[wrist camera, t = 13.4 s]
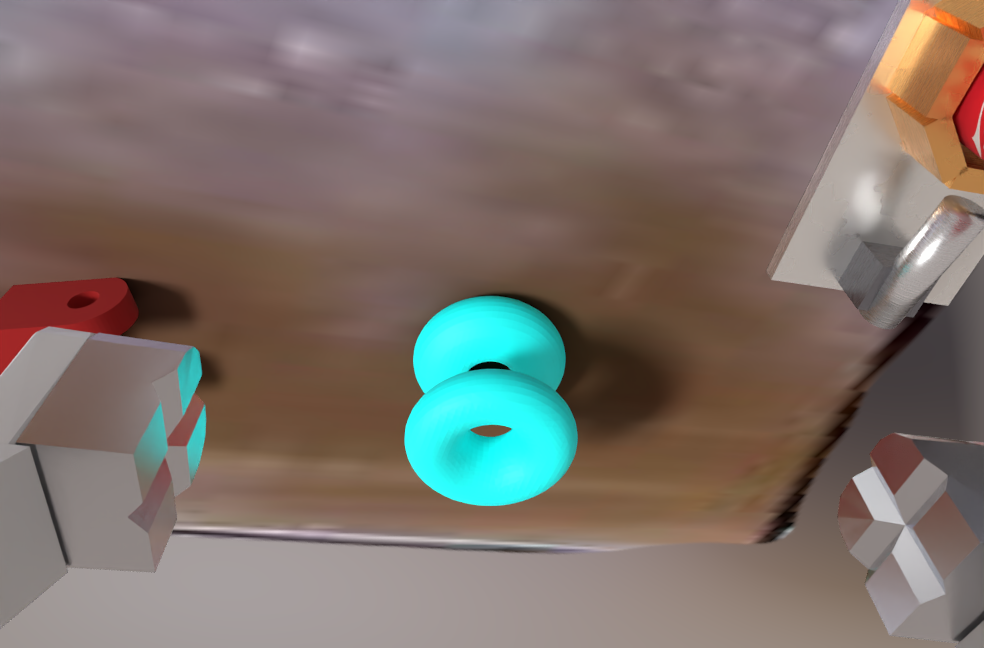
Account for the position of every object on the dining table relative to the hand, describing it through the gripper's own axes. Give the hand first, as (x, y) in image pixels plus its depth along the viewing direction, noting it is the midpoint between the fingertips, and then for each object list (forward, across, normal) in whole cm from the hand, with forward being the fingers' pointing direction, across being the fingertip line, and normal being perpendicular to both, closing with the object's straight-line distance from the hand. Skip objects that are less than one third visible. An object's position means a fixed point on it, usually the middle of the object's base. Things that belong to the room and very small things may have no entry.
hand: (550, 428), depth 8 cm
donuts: (+31, -4, +24) cm, 40 cm away
